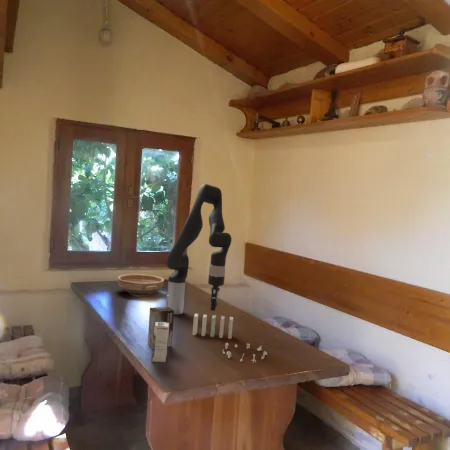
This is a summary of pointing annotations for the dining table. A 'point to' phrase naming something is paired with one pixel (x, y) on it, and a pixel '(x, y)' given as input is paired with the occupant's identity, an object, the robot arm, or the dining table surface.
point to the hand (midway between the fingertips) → (213, 308)
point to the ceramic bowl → (140, 284)
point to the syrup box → (160, 342)
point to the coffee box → (160, 316)
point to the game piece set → (243, 354)
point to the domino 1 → (195, 324)
